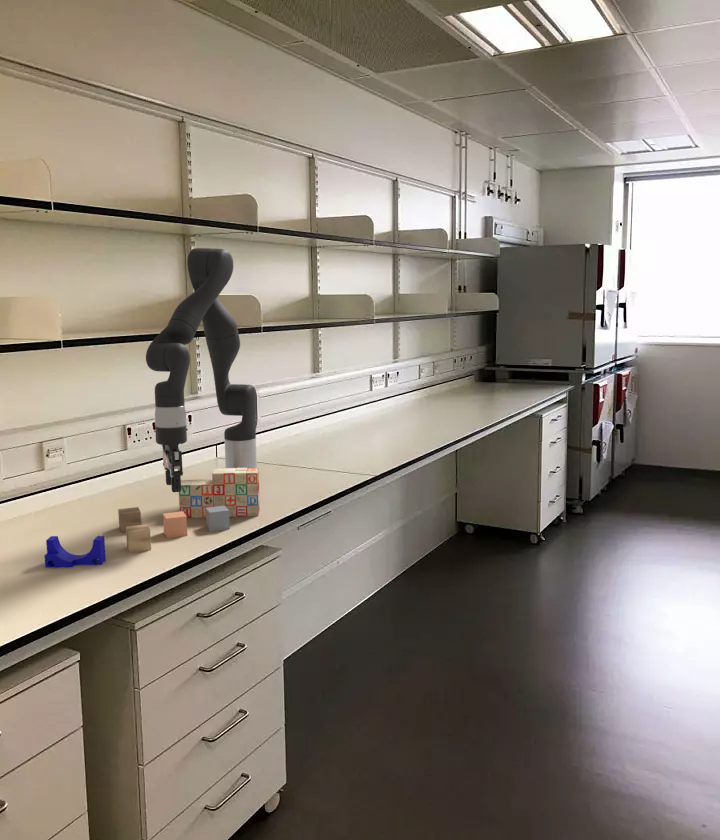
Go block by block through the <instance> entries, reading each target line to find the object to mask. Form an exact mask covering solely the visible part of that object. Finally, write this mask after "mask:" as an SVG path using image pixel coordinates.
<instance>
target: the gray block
mask: <svg viewBox="0 0 720 840" xmlns="http://www.w3.org/2000/svg"><path fill="white" fill-rule="evenodd" d="M205 526H206V528H207V529H208V530H209V531H210V532H216V530H217V531H222V530H223V529H225V530H230V528H231V527H230V517H229V510H228V509H227V508H226V507H225V506H217V507H208V508H206V517H205ZM223 531H224V530H223Z"/></svg>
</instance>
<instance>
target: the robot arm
mask: <svg viewBox="0 0 720 840" xmlns="http://www.w3.org/2000/svg"><path fill="white" fill-rule="evenodd" d="M186 265H187V273H188V276H189V279H190V283H191V285H192V290H193V292H192V293H191V294H190V295H188V296H187V297H186V298H184V299H183V300H182V301H181V302H180V303H179V304H178V305H177V307H176V308H175V310H174V311H173V313H172V315H171V318H170V319H169V321H168V324H167V325H166V327H164V329H163V330H161V331H160V332H159V334H158V335H157V336H156V337H155V338H154V339H153V340H152V341H151V342H150V344H149V346H148V347H147V349H146V353H145V363H146V365H147V367H148V368H149V369H150V370H152V371H154V372H159V373H160V372H163V373H164V372H166V373H168V372H169V375H168V378H167V380H164V381H159V382H158V383H156V384H155V386H154V406H155V407H154V409H155V410H154V430H155V443H156V444H158V445H160V446H161V447H162V465H163V469H164V472H165V484H166V485H167V486H171V492H172V493H179V492H180V491H181V480H182V478H181V477H182V476H183V475H184V471H183V470H184V469H183V456H182V455H183V453H182V452H183V451H182V450H180V449H179V445H183V444H185V443H187V442H188V432H187V431H188V430H187V429H188V428H187V427H188V426H187V412H186V407H185V386H186V381H187V378H188V377H187V376H188V373H189V368H190V363H191V354H190V351H189V349H188V348H187V346H186V345H189V344H190V343H191V342H192V341H193V340H194V337H195V335H196V333H197V331H198V328H199V327H200V325H201V323H202V326H203V327H202V328H203V333H204V338H205V342H206V347H207V350H208V353H209V359H210V363H211V366H212V374H213V381H214V386H215V387H214V389H215V394H216V397H215V398H216V403H217V406H218V409H219V411H220V413H221V414H222V415H224V416H240V417H241V421H240V422H239V423H238V424H236V425H232V426H228V427H226V429H225V430H224V432H223V434H224V461H225V463H224V464H225V469H226V468H258V466H257V465H258V463H257V462H258V461H257V436H256V435H257V434H256V433H257V391H256V389H255V387H254V386H253V384H246V383H245V384H237V383H236V384H235V383H233V384H232V383H230V377H229V373H230V370H231V367H232V365H233V363H234V361H235V360H236V358H237V356H238V354H239V350H240V348H241V340H240V339H241V338H240V335H239V334H240V333H239V330H238V329H239V328H238V324H237V322H236V320H235V318H234V317H233V315H232V314H231V313H230V312H229V310H228V309H227V308H226V307H225V306H224V304H223V303H222V302H221V301H220V299H219V298H218V297H219V295H220V294H221V292H222V291H223V290H224V289H225V287H226V286H227V285H228V283H229V282H230V280H231V278H232V274H233V271H234V259H233V256H232V254H231V253H230V251H229V250H227V249H223V248H213V247H211V248H210V247H195V248H193V249H191V250H190V251H189V252H188V255H187V263H186Z"/></svg>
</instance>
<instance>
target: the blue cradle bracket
mask: <svg viewBox="0 0 720 840" xmlns="http://www.w3.org/2000/svg"><path fill="white" fill-rule="evenodd" d="M59 539H60V538H59V535H52V536H51V535H50V537H48V538H47V539H46V541H45V544H46V554H44V555H43V556H44V568H45V569H46V568H49V569H50V568H52V569H53V568H56V569H57V568H73V567H75V566H102V565H103V564H104V563H105V562H106V558H107V557H106V544H105V543H106V541H105V535H97V536H95V538H94V539H93V540H92V541H93V542H92V546H91V549H90V551H89V552H87V553H84V554H74V553H71V552H69V551H67V550H66V549H65V548H64V547H63V546H62V545H61V542H60V541H59Z"/></svg>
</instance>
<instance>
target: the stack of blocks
mask: <svg viewBox="0 0 720 840" xmlns="http://www.w3.org/2000/svg"><path fill="white" fill-rule="evenodd" d="M259 471H260V470H259V467H257V468H226V467H225V468H213V471H212V473H211V474H212V475H211V477H212V478H211V479H181V491H180V492H178V503H179V504H178V505H179V512H181V511H183V512H184V513H185V515H186V516H187V519H188V518H206V508H208V507H217V506H225V507H226V508H227V509H228V510H229V518H230V517H231V516H234V517H236V516H237V517H259V516H258V515H259V514H260V472H259Z"/></svg>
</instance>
